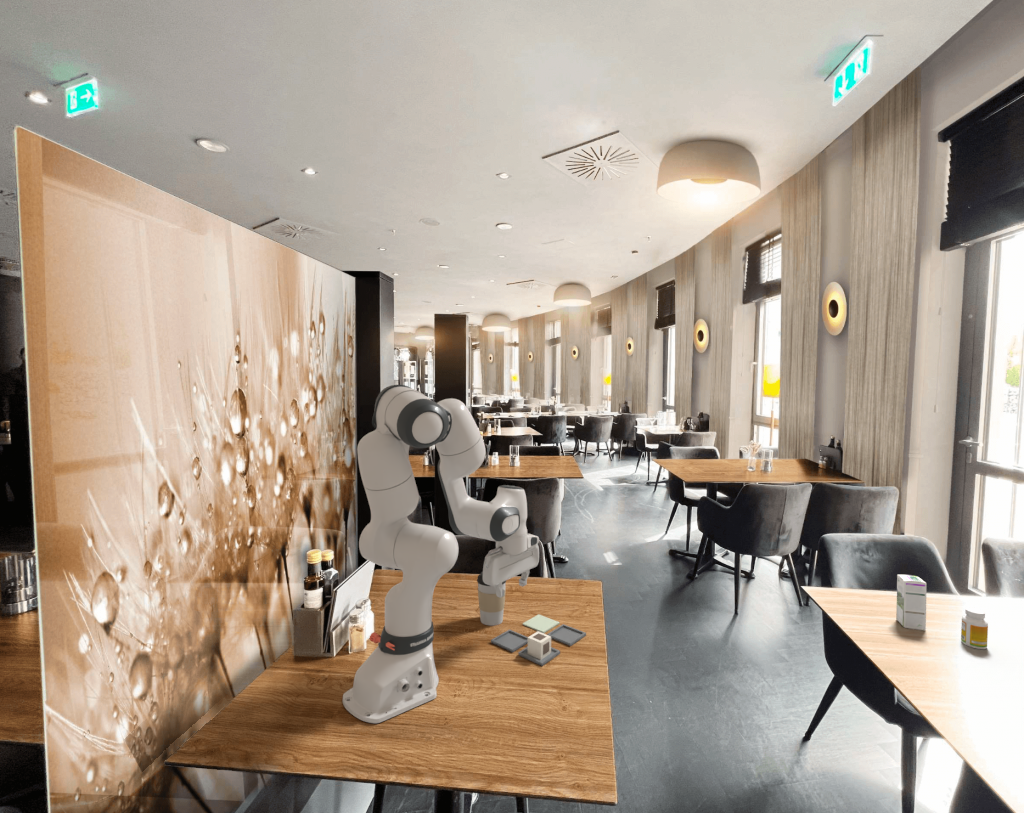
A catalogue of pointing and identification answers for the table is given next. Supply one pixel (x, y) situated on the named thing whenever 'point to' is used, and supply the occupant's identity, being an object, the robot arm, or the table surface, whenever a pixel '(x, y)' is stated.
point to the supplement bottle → (974, 629)
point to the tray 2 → (542, 662)
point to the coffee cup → (490, 603)
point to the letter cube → (539, 645)
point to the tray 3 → (567, 635)
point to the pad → (541, 623)
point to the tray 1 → (510, 640)
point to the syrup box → (911, 602)
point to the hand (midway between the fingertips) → (511, 590)
